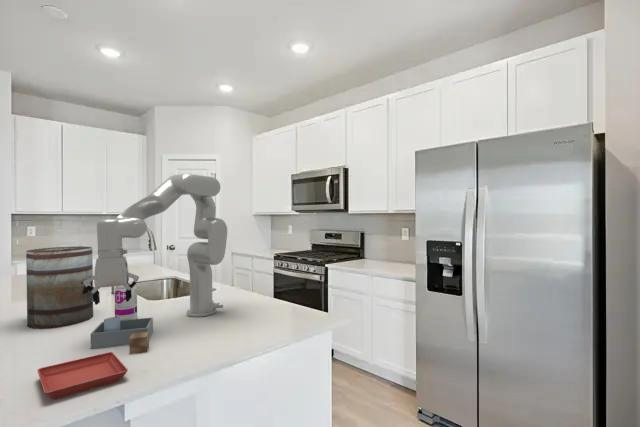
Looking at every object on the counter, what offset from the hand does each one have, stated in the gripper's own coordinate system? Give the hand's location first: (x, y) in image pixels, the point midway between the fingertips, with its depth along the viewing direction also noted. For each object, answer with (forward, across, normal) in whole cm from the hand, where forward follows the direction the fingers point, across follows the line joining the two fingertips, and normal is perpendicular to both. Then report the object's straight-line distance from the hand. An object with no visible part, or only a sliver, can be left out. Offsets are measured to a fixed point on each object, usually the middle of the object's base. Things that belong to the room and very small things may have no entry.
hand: (112, 302), depth 126 cm
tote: (+14, -3, +1) cm, 14 cm away
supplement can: (+14, +1, -24) cm, 28 cm away
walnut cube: (+14, -10, +14) cm, 22 cm away
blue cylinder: (+13, +1, +1) cm, 13 cm away
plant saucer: (+13, +1, +32) cm, 34 cm away
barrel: (+14, +27, -33) cm, 45 cm away
